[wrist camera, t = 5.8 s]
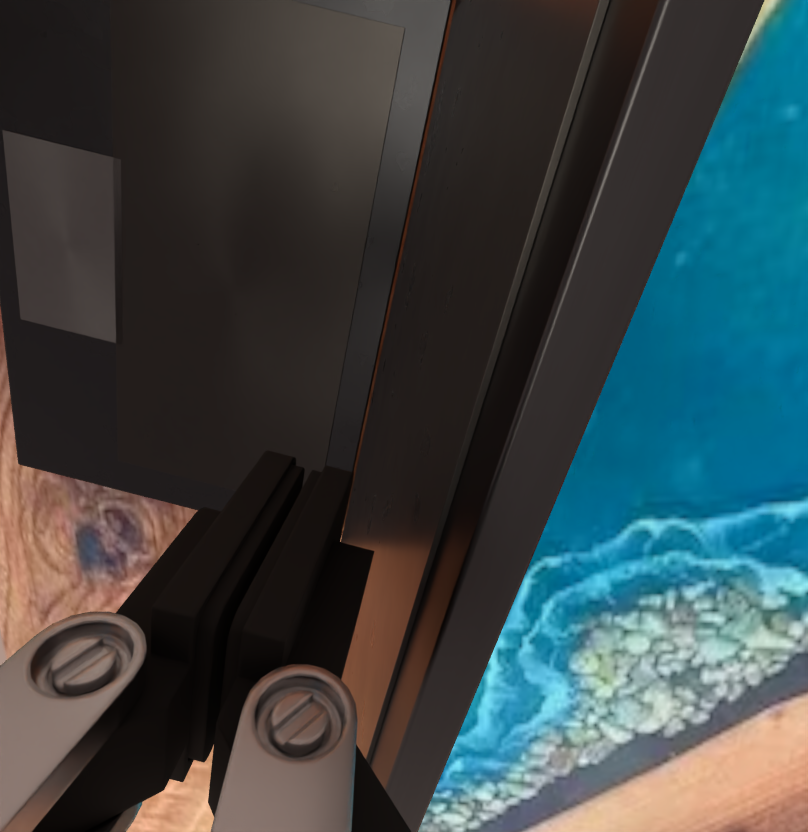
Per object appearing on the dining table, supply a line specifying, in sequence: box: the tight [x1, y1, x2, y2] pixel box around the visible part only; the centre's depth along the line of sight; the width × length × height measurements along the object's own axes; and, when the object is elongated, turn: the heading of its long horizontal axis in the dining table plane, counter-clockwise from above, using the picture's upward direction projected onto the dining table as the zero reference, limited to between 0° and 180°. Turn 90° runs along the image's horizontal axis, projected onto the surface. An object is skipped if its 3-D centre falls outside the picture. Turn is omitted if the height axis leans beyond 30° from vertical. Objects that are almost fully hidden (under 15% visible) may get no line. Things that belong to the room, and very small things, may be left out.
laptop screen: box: [341, 0, 764, 832], centre depth 15 cm, size 17×24×1 cm
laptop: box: [0, 0, 456, 536], centre depth 23 cm, size 17×24×2 cm
